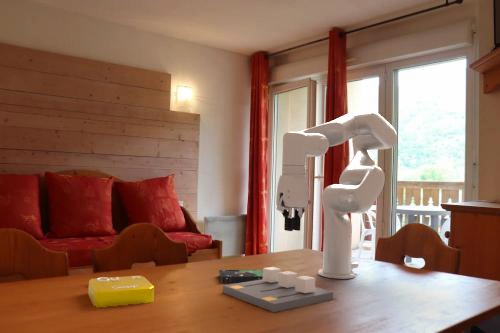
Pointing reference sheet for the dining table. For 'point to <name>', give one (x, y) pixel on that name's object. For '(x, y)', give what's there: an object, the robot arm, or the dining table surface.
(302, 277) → the tab
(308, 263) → the dining table surface
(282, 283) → the tab
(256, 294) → the switch board
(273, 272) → the tab
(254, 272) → the disk drive
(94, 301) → the element tile
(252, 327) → the dining table surface
